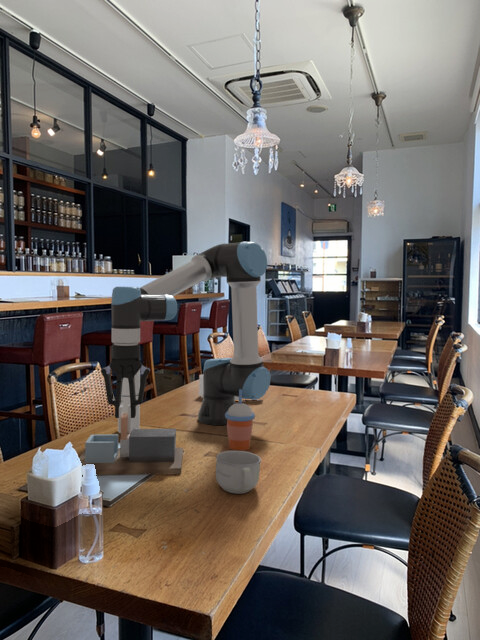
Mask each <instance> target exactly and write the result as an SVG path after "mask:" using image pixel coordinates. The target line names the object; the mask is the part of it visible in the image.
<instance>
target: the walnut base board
mask: <svg viewBox="0 0 480 640" xmlns="http://www.w3.org/2000/svg"><path fill="white" fill-rule="evenodd" d="M183 456H184V447H176V454H175V461H174V462H136V463H129V457H120V447H118V455H117V457H116V459H115V461H114V463H85V449H84V450H83V451H82V453H81V454H80V456H79V457H78V458H80V461H81V463H82V466H83V465H86V464H94V465H95V469H96V474H97V475H96V476H124V475H125V476H127V475H131V476H132V475H133V476H135V475H136V476H137V475H182V470H183V469H182V468H183V467H182V466H183V458H184V457H183Z"/></svg>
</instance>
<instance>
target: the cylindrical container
mask: <svg viewBox="0 0 480 640" xmlns="http://www.w3.org/2000/svg"><path fill="white" fill-rule="evenodd" d="M140 383H141V369H139V371H138V372H137V373H136V375H135V393H136V400H137V399H138V395H139V389H140ZM120 405H123V414H124V413H128V406H129V405H131V404H130V391H129V382H128V378H123V383H122V394H121V403H120ZM140 405H141V404H139V405H136V416H135V418H132V429H131V431H130V434H131V432H132V430H133V429H141V428H140V425H141V424H140V421H141V419H140V418H141V417H140V416H141V415H140V413H141V411H140V410H141V406H140ZM117 432H118V434H121V431H119V418H117Z"/></svg>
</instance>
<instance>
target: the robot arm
mask: <svg viewBox="0 0 480 640" xmlns="http://www.w3.org/2000/svg"><path fill="white" fill-rule="evenodd" d="M267 267H268V258H267V255H266V252H265V250H264V249H263V247H262V246H261V245H260V244H258V243H257V242H254V241H241V242H239V241H238V242H230V243H220V244H217V245H215V246H214V245H213V246H212V247H209V248H207V249H205V250H204V251H202V252H199V253H198V254H196V255H195V256H193V257H192V258H191V260H190V261H189V262H187V263H185V264H184V265H183V264H182V265H181V266H179V267H178V268H176V269H173V270H171V271H170V272H168V273H166V274H163V275H162V276H160V277H158V278H156V279H154V280H151V281H150V282H148V283H146V284H144V285H142V286H140V287H139V286H115V287H113V288H112V292H111V293H112V294H111V302H110V303H111V343H112V345H111V360H110V362H109V364H108V366H105V367H102V369H100V373H101V376H102V377H103V381H104V387H105V388H104V389H105V392H106V394H105V395H106V399H107V404H108V405H112V406H114V418H115V419H118V418H119V431H121V417H122V415H123V405H120V403H121V394H122V383H123V378H128V382H129V391H130V404H131V405H129V406H128V431H131V429H132V418H135V416H136V405H139V404H140V405H142V404H143V400H144V395H145V391H146V384H147V379H148V375H149V374H150V372H151V368H149V367H147V366H144V365H143V363H142V361H141V345H140V344H139V343H141V322H156V321H157V322H159V321H161V322H165V321H170V320H173V319H174V318H175V317H176V315H177V313H178V302H177V300H176V298H175V296H177V295H179V294H180V293H182V292H184V291H185V290H187V289H189V288H191V287H192V286H193V287H194V286H195V285H197V284H198V283H200V282H208V281H210V280H212V279H215V278H226V284H228V286H230V288H231V289H230V290H231V313H232V336H233V337H232V338H233V339H232V340H233V341H232V342H233V356H232V357H220V358H210V359H207V360H205V361H204V364H203V370H202V371H203V374H202V375H203V397H202V401H201V405H200V406H199V407H200V408H199V410H198V414H197V416H198V417H197V420H198V421H199V422H200V423H201V424H205V425H210V426H227V423H228V422H227V419H226V417H225V414H226V412H227V411H228V409H229V408H230V407H231V406H232V405H233V404H236V403H237V402H235V399H234V398H235V396H237V397H239V389H242V398H244V399H251V400H257V399H260V398H261V397H263V396H265V395H266V393H267V392H268V390H269V388H270V385H271V373H270V371H269V369H268V368H266V367H265V366H264V359H263V358H262V357H261V356H260V355H259V336H258V335H259V332H258V328H259V327H258V298H257V294H258V293H257V286H258V285H259V284H260V283H261V276H263V275H265V273H266V270H267ZM139 369H140V375H141V377H140V389H139V395H138V399H137V400H136V393H135V375H136V373H137V372H138V371H139ZM111 371H112V372H113V373H114V375H115V376H116V385H115V396H114V390H113V385H112V379H111V374H112V372H111ZM114 397H115V398H114ZM257 401H258V400H257Z"/></svg>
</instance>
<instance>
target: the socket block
mask: <svg viewBox="0 0 480 640" xmlns="http://www.w3.org/2000/svg"><path fill="white" fill-rule="evenodd" d="M84 446H85V448H84V450H85V463H114V461H115V459H116V457H117V455H118V448H119V433H118V434H117V433H115V434H113V433H112V434H110V433H109V434H103V433H102V434H90V436H89V437H88V438H87V440H86V441H85V443H84Z"/></svg>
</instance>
